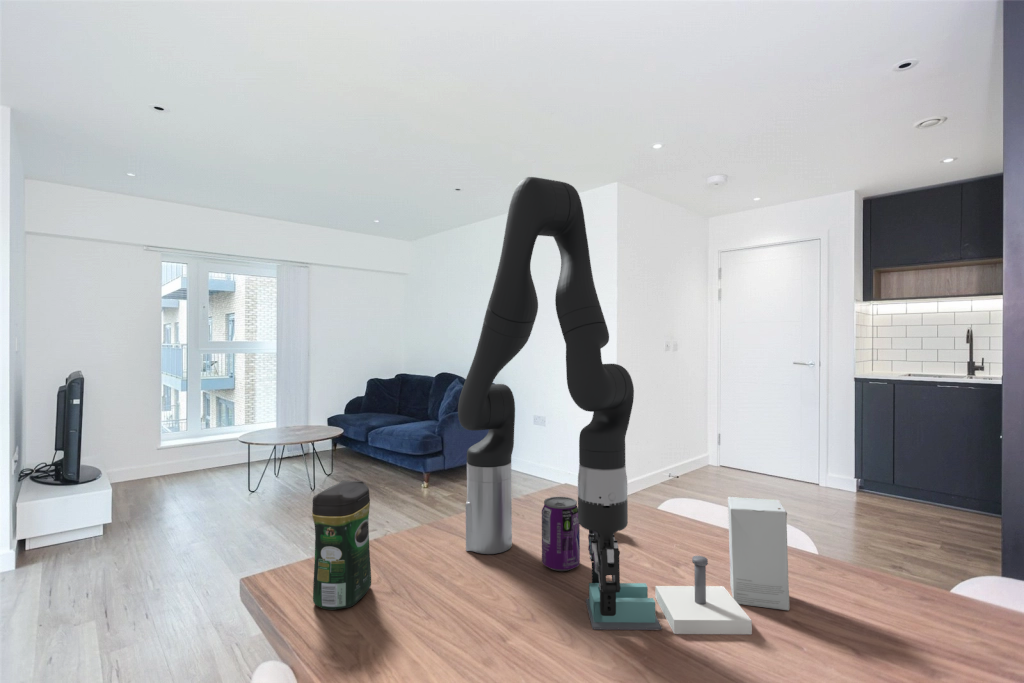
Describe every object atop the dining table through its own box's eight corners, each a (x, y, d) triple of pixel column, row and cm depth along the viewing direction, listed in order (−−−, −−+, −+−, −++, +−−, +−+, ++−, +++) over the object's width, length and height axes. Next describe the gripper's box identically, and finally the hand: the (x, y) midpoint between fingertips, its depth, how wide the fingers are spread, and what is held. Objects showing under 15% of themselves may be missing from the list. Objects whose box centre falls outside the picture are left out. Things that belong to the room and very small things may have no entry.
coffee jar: (335, 581, 88) (334, 475, 88) (377, 584, 86) (377, 477, 86) (303, 610, 78) (302, 492, 78) (350, 614, 77) (349, 494, 77)
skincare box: (782, 593, 82) (781, 499, 83) (790, 613, 76) (789, 512, 76) (727, 585, 85) (727, 494, 85) (731, 604, 79) (730, 506, 79)
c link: (594, 622, 74) (594, 601, 74) (589, 601, 79) (589, 582, 79) (655, 622, 73) (655, 602, 73) (645, 602, 79) (645, 583, 79)
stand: (674, 633, 71) (673, 573, 71) (655, 598, 81) (655, 545, 81) (751, 634, 71) (751, 574, 71) (723, 598, 81) (723, 545, 81)
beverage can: (578, 575, 89) (578, 508, 89) (539, 572, 91) (538, 506, 91) (581, 558, 96) (580, 496, 96) (544, 555, 98) (544, 494, 98)
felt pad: (592, 629, 72) (592, 626, 72) (585, 601, 80) (585, 598, 80) (661, 629, 72) (661, 627, 72) (647, 601, 80) (647, 598, 80)
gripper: (573, 481, 84) (573, 577, 83) (583, 509, 69) (584, 625, 69) (618, 481, 83) (618, 577, 83) (637, 509, 69) (638, 626, 69)
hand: (603, 599), depth 76 cm, fingers open, 8 cm apart
